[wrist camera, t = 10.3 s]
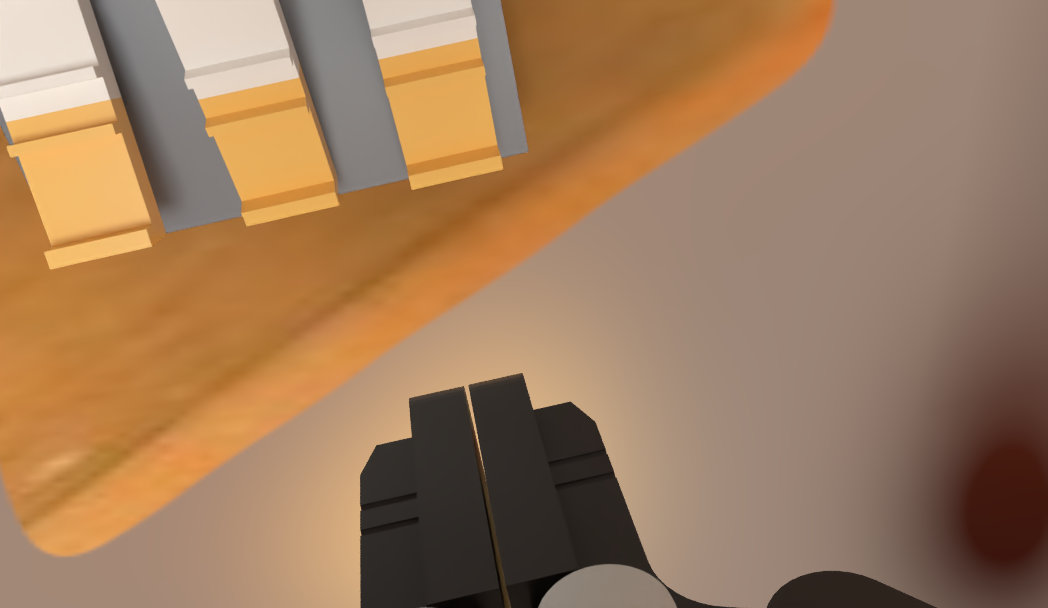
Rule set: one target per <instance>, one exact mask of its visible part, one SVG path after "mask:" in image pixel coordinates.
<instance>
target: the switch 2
mask: <svg viewBox="0 0 1048 608" xmlns="http://www.w3.org/2000/svg"><path fill="white" fill-rule="evenodd" d="M362 1H363V4H364V8H365V12H366V16H367V19H368V23H369V27H370V32H371V38H372V42H373V45H374V48H375V49H376V53H377V57H378V61H379V64H380V68H381V72H382V76H383V80H384V86H385V90H386V94H387V97H388V98H389V102H390V106H391V109H392V113H393V117H394V121H395V125H396V128H397V132H398V136H399V140H400V143H401V147H402V151H403V155H404V158H405V162H406V166H407V172H408V177H409V181H410V185H411V188H412V190H414V189H418V188H423V187H427V186H432V185H436V184H440V183H445V182H449V181H454V180H458V179H463V178H467V177H471V176H476V175H480V174H485V173H489V172H494V171H498V170H502V169H503V165H502V159H501V155H500V151H499V148H498V145H497V140H496V135H495V129H494V124H493V118H492V113H491V107H490V102H489V96H488V91H487V86H486V80H485V76H486V73H485V68H484V64H483V61H482V58H481V53H480V47H479V42H478V37H477V31H476V26H477V24H476V18H475V14H474V11H473V8H472V4H471V0H362Z"/></svg>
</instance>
